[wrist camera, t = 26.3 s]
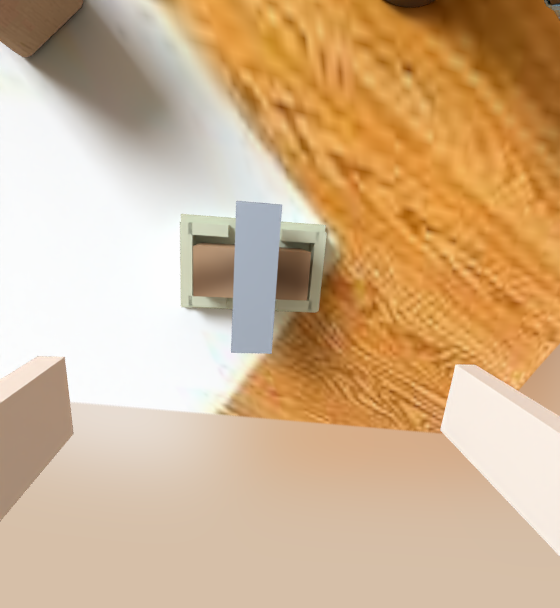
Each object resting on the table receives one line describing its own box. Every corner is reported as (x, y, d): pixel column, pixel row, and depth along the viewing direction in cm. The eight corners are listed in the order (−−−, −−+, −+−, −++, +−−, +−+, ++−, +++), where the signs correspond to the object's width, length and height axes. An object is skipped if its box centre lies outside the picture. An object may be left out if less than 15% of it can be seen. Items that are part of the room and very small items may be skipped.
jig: (182, 214, 41) (175, 213, 37) (324, 225, 43) (331, 225, 39) (183, 305, 44) (177, 313, 40) (315, 311, 46) (321, 318, 43)
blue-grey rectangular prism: (237, 204, 34) (236, 200, 29) (277, 207, 34) (282, 204, 30) (233, 336, 38) (231, 352, 33) (268, 337, 38) (271, 353, 33)
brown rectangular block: (201, 242, 41) (192, 245, 34) (301, 248, 43) (311, 252, 36) (201, 285, 43) (193, 296, 36) (297, 289, 44) (306, 300, 38)
